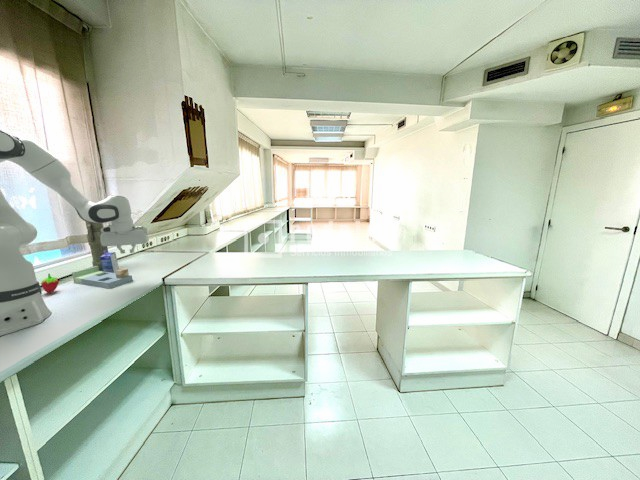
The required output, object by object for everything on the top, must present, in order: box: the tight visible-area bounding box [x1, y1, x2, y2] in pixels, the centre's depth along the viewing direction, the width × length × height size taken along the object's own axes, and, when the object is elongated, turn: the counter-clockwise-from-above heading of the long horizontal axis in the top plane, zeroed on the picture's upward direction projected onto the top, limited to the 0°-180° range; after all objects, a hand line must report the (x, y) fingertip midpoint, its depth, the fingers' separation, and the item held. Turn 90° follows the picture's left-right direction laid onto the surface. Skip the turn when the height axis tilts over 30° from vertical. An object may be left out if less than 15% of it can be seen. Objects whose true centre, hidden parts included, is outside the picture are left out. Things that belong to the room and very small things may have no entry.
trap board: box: [71, 266, 134, 289], centre depth 140 cm, size 12×28×6 cm, turn 71°
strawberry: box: [40, 273, 60, 294], centre depth 125 cm, size 6×7×10 cm
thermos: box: [84, 221, 109, 271], centre depth 156 cm, size 9×12×35 cm
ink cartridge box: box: [100, 250, 120, 273], centre depth 153 cm, size 10×6×14 cm, turn 25°
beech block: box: [115, 268, 130, 278], centre depth 139 cm, size 4×4×4 cm
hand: (127, 252), depth 134 cm, fingers open, 3 cm apart
